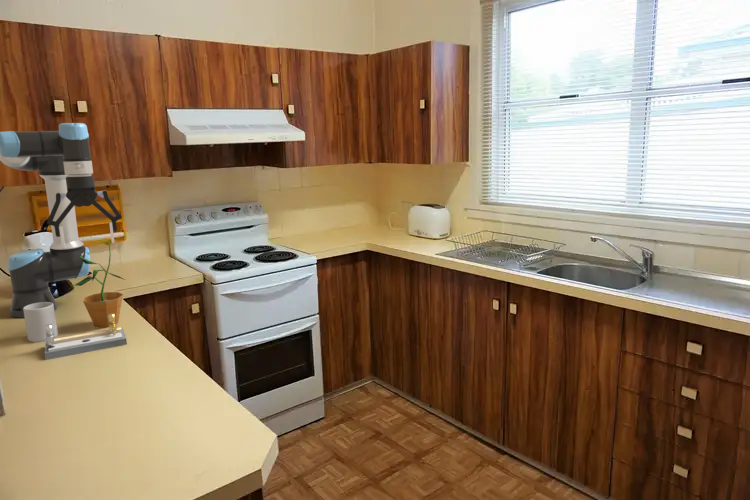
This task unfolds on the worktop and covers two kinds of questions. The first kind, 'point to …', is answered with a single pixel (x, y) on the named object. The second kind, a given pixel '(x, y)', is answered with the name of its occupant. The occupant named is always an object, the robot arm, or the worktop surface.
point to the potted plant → (102, 298)
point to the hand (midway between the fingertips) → (88, 244)
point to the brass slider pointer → (112, 323)
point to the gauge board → (85, 343)
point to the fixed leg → (49, 334)
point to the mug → (39, 320)
